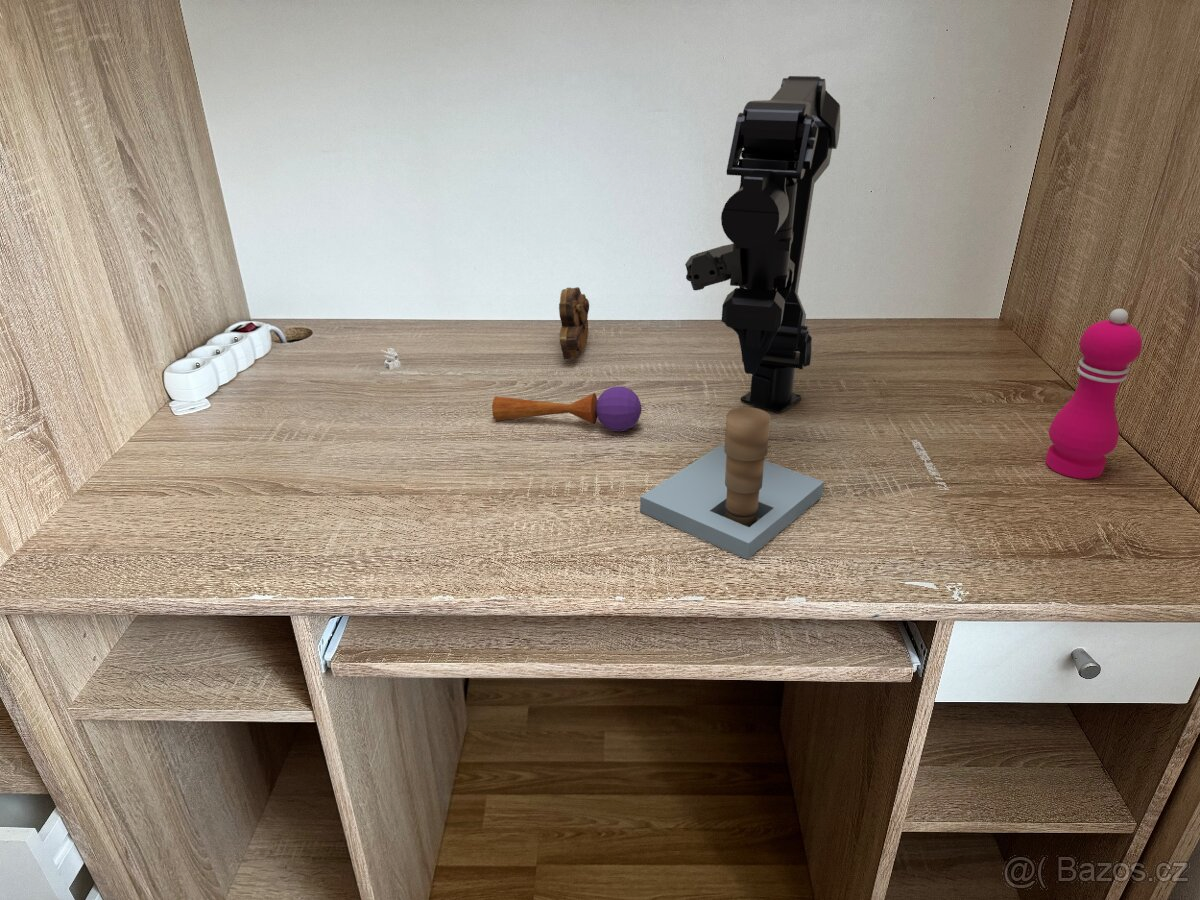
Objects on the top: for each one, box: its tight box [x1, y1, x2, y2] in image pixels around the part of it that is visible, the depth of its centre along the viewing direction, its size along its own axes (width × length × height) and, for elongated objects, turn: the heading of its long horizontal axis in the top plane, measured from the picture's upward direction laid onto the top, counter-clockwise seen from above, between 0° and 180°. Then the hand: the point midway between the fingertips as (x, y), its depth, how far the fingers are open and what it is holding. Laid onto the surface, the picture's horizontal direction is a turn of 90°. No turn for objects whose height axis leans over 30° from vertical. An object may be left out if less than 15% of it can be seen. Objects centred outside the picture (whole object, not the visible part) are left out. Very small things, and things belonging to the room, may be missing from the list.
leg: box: [724, 406, 771, 527], centre depth 87 cm, size 4×4×13 cm
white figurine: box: [380, 347, 401, 371], centre depth 130 cm, size 3×3×3 cm
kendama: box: [491, 386, 642, 432], centre depth 111 cm, size 6×6×20 cm
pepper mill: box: [1045, 308, 1143, 480], centre depth 96 cm, size 7×7×20 cm
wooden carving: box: [558, 287, 590, 360], centre depth 134 cm, size 16×5×10 cm, turn 179°
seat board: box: [639, 444, 825, 560], centre depth 93 cm, size 16×14×2 cm
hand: (754, 358), depth 98 cm, fingers open, 9 cm apart
